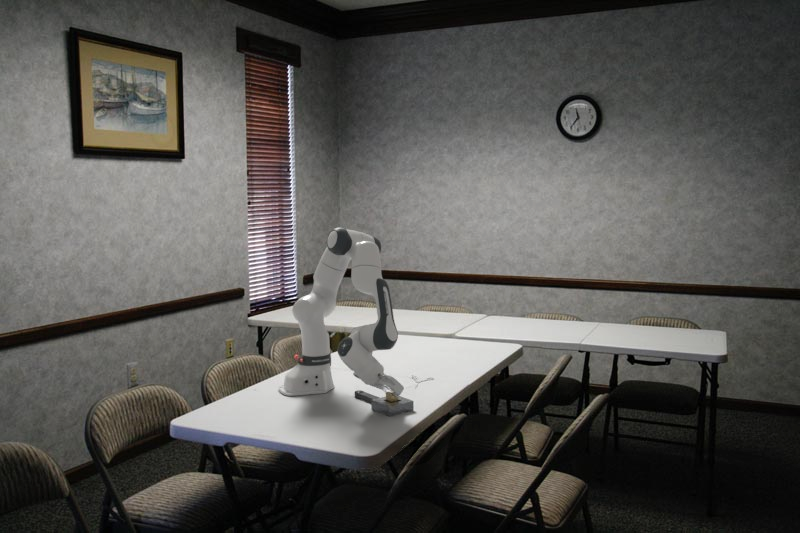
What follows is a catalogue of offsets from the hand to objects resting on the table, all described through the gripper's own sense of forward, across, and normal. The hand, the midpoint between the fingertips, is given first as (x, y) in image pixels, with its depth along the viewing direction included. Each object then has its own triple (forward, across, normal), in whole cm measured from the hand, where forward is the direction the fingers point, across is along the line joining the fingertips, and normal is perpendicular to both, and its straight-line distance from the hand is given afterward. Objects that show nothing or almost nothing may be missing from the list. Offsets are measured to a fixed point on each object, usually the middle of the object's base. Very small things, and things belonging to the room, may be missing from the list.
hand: (393, 393), depth 254 cm
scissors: (+26, +23, -16) cm, 38 cm away
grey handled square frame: (+4, +9, +5) cm, 11 cm away
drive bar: (+3, 0, +4) cm, 5 cm away
